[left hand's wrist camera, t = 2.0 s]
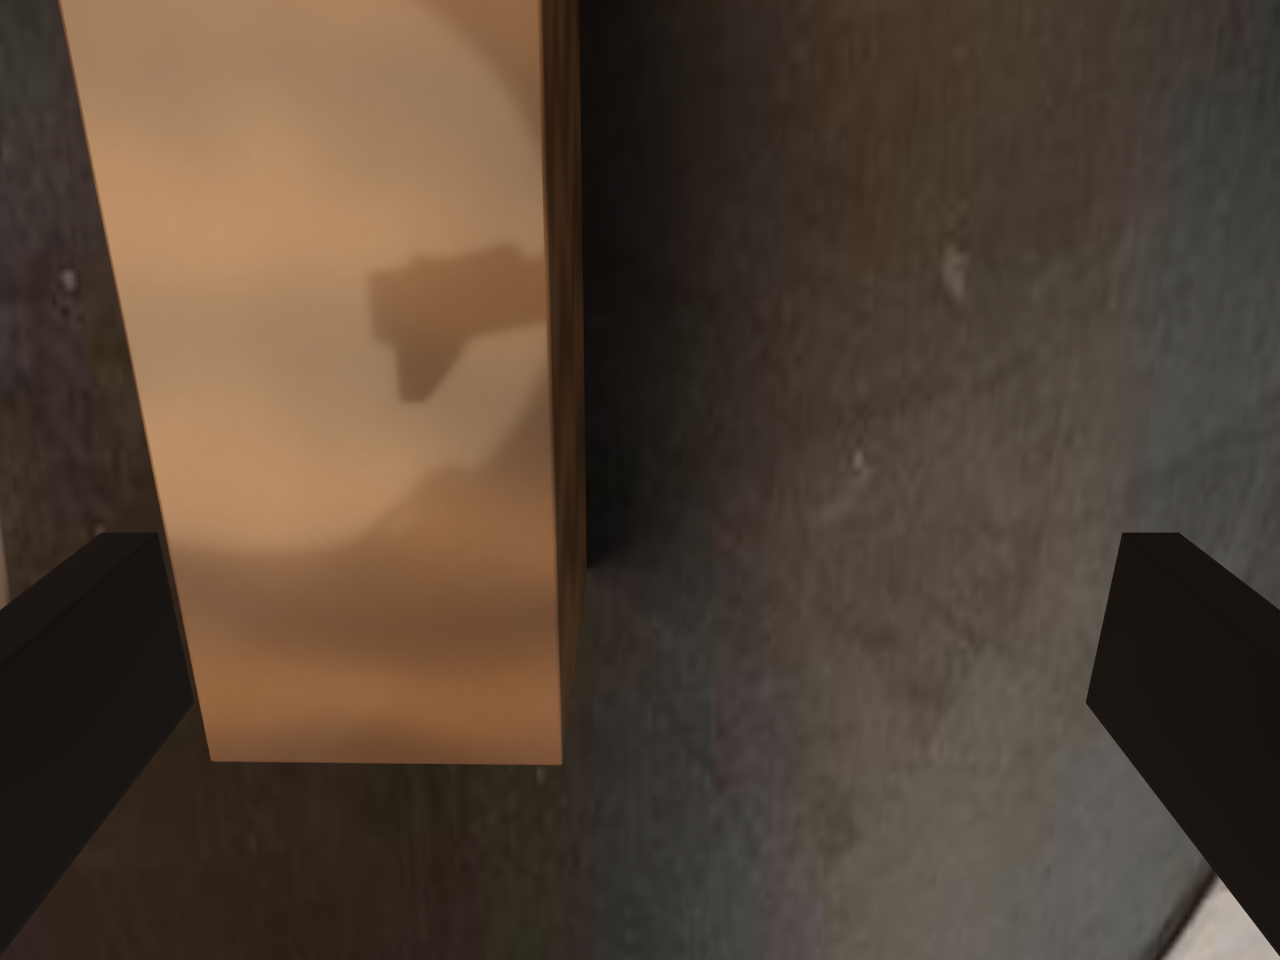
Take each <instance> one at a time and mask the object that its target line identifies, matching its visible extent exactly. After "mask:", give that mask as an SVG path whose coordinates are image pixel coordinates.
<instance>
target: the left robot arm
mask: <svg viewBox="0 0 1280 960" xmlns="http://www.w3.org/2000/svg"><path fill="white" fill-rule="evenodd" d="M193 704H194V699H193V695H192V690H191V685H190V681H189V676H188V671H187V667H186V662H185V658H184V653H183V648H182V644H181V639H180V634H179V630H178V625H177V620H176V616H175V611H174V606H173V602H172V597H171V592H170V588H169V583H168V579H167V574H166V569H165V565H164V560H163V555H162V551H161V546H160V541H159V537H158V533H100V534H99V535H98V536H96V537H95V538H94V539H92V540H91V541H90V542H88V543H87V544H86V545H85V546H83V547H82V548H81V549H79V550H78V551H77V552H75V553H74V554H73V555H72V556H70V557H69V558H68V559H66V560H65V561H64V562H62V563H61V564H60V565H58V566H57V567H56V568H55V569H53V570H52V571H51V572H49V573H48V574H47V575H45V576H44V577H43V578H41V579H40V580H39V581H38V582H36V583H35V584H34V585H32V586H31V587H30V588H28V589H27V590H26V591H25V592H23V593H22V594H21V595H19V596H18V597H17V598H15V599H14V600H13V601H11V602H10V603H9V604H8V605H6V606H5V607H4V608H2V609H1V610H0V956H1V955H2V953H3V952H4V951H5V949H6V948H7V947H8V946H9V944H10V943H11V942H12V940H13V939H14V938H15V936H16V935H17V934H18V932H19V931H20V930H21V929H22V927H23V926H24V925H25V923H26V922H27V921H28V919H29V918H30V917H31V915H32V914H33V913H34V912H35V910H36V909H37V908H38V906H39V905H40V904H41V902H42V901H43V900H44V898H45V897H46V896H47V895H48V893H49V892H50V891H51V889H52V888H53V887H54V885H55V884H56V883H57V882H58V880H59V879H60V878H61V876H62V875H63V874H64V872H65V871H66V870H67V868H68V867H69V866H70V865H71V863H72V862H73V861H74V859H75V858H76V857H77V855H78V854H79V853H80V851H81V850H82V849H83V848H84V846H85V845H86V844H87V842H88V841H89V840H90V838H91V837H92V836H93V834H94V833H95V832H96V831H97V829H98V828H99V827H100V825H101V824H102V823H103V821H104V820H105V819H106V817H107V816H108V815H109V814H110V812H111V811H112V810H113V808H114V807H115V806H116V804H117V803H118V802H119V800H120V799H121V798H122V797H123V795H124V794H125V793H126V791H127V790H128V789H129V787H130V786H131V785H132V783H133V782H134V781H135V780H136V778H137V777H138V776H139V774H140V773H141V772H142V770H143V769H144V768H145V766H146V765H147V764H148V763H149V761H150V760H151V759H152V757H153V756H154V755H155V753H156V752H157V751H158V749H159V748H160V747H161V746H162V744H163V743H164V742H165V740H166V739H167V738H168V736H169V735H170V734H171V732H172V731H173V730H174V729H175V727H176V726H177V725H178V723H179V722H180V721H181V719H182V718H183V717H184V716H185V714H186V713H187V712H188V710H189V709H190V708H191V706H192V705H193ZM1086 704H1087V705H1088V706H1089V708H1090V709H1091V710H1092V712H1093V713H1094V714H1095V716H1096V717H1097V718H1098V719H1099V721H1100V722H1101V723H1102V725H1103V726H1104V727H1105V729H1106V730H1107V731H1108V733H1109V734H1110V735H1111V736H1112V738H1113V739H1114V740H1115V742H1116V743H1117V744H1118V746H1119V747H1120V748H1121V749H1122V751H1123V752H1124V753H1125V755H1126V756H1127V757H1128V759H1129V760H1130V761H1131V763H1132V764H1133V765H1134V766H1135V768H1136V769H1137V770H1138V772H1139V773H1140V774H1141V776H1142V777H1143V778H1144V780H1145V781H1146V782H1147V783H1148V785H1149V786H1150V787H1151V789H1152V790H1153V791H1154V793H1155V794H1156V795H1157V797H1158V798H1159V799H1160V800H1161V802H1162V803H1163V804H1164V806H1165V807H1166V808H1167V810H1168V811H1169V812H1170V814H1171V815H1172V816H1173V817H1174V819H1175V820H1176V821H1177V823H1178V824H1179V825H1180V827H1181V828H1182V829H1183V831H1184V832H1185V833H1186V834H1187V836H1188V837H1189V838H1190V840H1191V841H1192V842H1193V844H1194V845H1195V846H1196V848H1197V849H1198V850H1199V851H1200V853H1201V854H1202V855H1203V857H1204V858H1205V859H1206V861H1207V862H1208V863H1209V865H1210V866H1211V867H1212V868H1213V870H1214V871H1215V872H1216V874H1217V875H1218V876H1219V878H1220V879H1221V880H1222V882H1223V883H1224V884H1225V885H1226V887H1227V888H1228V889H1229V891H1230V892H1231V893H1232V895H1233V896H1234V897H1235V899H1236V900H1237V901H1238V902H1239V904H1240V905H1241V906H1242V908H1243V909H1244V910H1245V912H1246V913H1247V914H1248V915H1249V917H1250V918H1251V919H1252V921H1253V922H1254V923H1255V925H1256V926H1257V927H1258V929H1259V930H1260V931H1261V932H1262V934H1263V935H1264V936H1265V938H1266V939H1267V940H1268V942H1269V943H1270V944H1271V946H1272V947H1273V948H1274V949H1275V951H1276V952H1277V953H1278V955H1279V956H1280V610H1279V609H1278V608H1276V607H1275V606H1274V605H1272V604H1271V603H1270V602H1269V601H1267V600H1266V599H1265V598H1263V597H1262V596H1261V595H1259V594H1258V593H1257V592H1255V591H1254V590H1253V589H1252V588H1250V587H1249V586H1248V585H1246V584H1245V583H1244V582H1242V581H1241V580H1240V579H1239V578H1237V577H1236V576H1235V575H1233V574H1232V573H1231V572H1229V571H1228V570H1227V569H1225V568H1224V567H1223V566H1222V565H1220V564H1219V563H1218V562H1216V561H1215V560H1214V559H1212V558H1211V557H1210V556H1208V555H1207V554H1206V553H1205V552H1203V551H1202V550H1201V549H1199V548H1198V547H1197V546H1195V545H1194V544H1193V543H1192V542H1190V541H1189V540H1188V539H1186V538H1185V537H1184V536H1182V535H1181V534H1180V533H1122V537H1121V541H1120V546H1119V551H1118V555H1117V560H1116V565H1115V569H1114V574H1113V579H1112V583H1111V588H1110V592H1109V597H1108V602H1107V606H1106V611H1105V616H1104V620H1103V625H1102V630H1101V634H1100V639H1099V644H1098V648H1097V653H1096V658H1095V662H1094V667H1093V671H1092V676H1091V681H1090V685H1089V690H1088V695H1087V699H1086Z"/></svg>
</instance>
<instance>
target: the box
mask: <svg viewBox="0 0 1280 960" xmlns="http://www.w3.org/2000/svg"><path fill="white" fill-rule="evenodd" d="M58 3H59V8H60V13H61V18H62V23H63V28H64V33H65V38H66V43H67V48H68V53H69V58H70V63H71V68H72V73H73V78H74V83H75V88H76V92H77V97H78V102H79V107H80V112H81V117H82V122H83V127H84V132H85V137H86V142H87V147H88V152H89V157H90V162H91V167H92V172H93V177H94V182H95V187H96V192H97V197H98V202H99V207H100V212H101V217H102V221H103V226H104V231H105V236H106V241H107V246H108V251H109V256H110V261H111V266H112V271H113V276H114V281H115V286H116V291H117V296H118V301H119V306H120V311H121V316H122V321H123V326H124V331H125V336H126V341H127V346H128V351H129V355H130V360H131V365H132V370H133V375H134V380H135V385H136V390H137V395H138V400H139V405H140V410H141V415H142V420H143V425H144V430H145V435H146V440H147V445H148V450H149V455H150V460H151V465H152V470H153V475H154V480H155V484H156V489H157V494H158V499H159V504H160V509H161V514H162V519H163V524H164V529H165V534H166V539H167V544H168V549H169V554H170V559H171V564H172V569H173V574H174V579H175V584H176V589H177V594H178V599H179V604H180V609H181V613H182V618H183V623H184V628H185V633H186V638H187V643H188V648H189V653H190V658H191V663H192V668H193V673H194V678H195V683H196V688H197V693H198V698H199V703H200V708H201V713H202V718H203V723H204V728H205V733H206V738H207V742H208V747H209V752H210V757H211V760H212V761H214V762H309V763H409V764H509V765H561V764H562V762H563V756H564V748H565V740H566V732H567V724H568V716H569V708H570V700H571V692H572V684H573V676H574V668H575V660H576V652H577V644H578V636H579V628H580V620H581V612H582V604H583V596H584V588H585V580H586V572H587V548H586V473H585V398H584V323H583V248H582V174H581V99H580V24H579V0H58Z"/></svg>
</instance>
